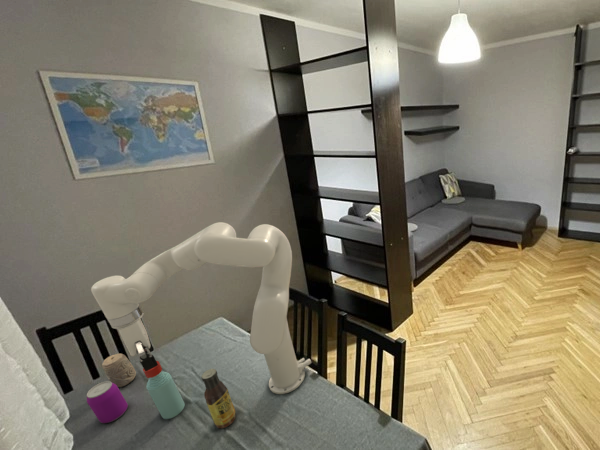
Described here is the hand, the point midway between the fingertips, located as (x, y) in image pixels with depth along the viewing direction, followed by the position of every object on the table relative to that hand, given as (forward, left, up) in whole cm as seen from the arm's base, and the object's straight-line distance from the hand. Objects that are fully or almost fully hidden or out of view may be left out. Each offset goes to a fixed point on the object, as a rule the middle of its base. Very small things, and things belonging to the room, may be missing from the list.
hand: (149, 359), depth 98 cm
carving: (+11, -29, -23) cm, 39 cm away
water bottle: (0, 0, -23) cm, 23 cm away
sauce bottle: (-12, +18, -23) cm, 31 cm away
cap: (0, 0, -5) cm, 5 cm away
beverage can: (+15, -14, -23) cm, 31 cm away
